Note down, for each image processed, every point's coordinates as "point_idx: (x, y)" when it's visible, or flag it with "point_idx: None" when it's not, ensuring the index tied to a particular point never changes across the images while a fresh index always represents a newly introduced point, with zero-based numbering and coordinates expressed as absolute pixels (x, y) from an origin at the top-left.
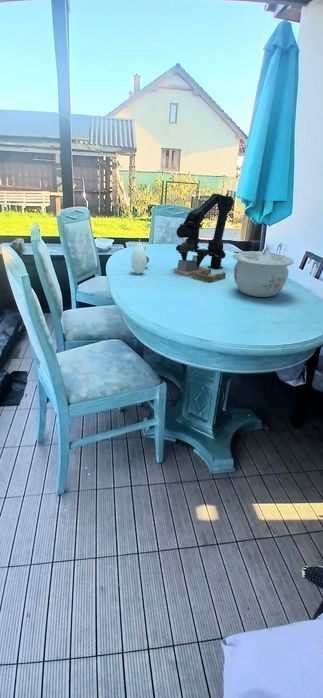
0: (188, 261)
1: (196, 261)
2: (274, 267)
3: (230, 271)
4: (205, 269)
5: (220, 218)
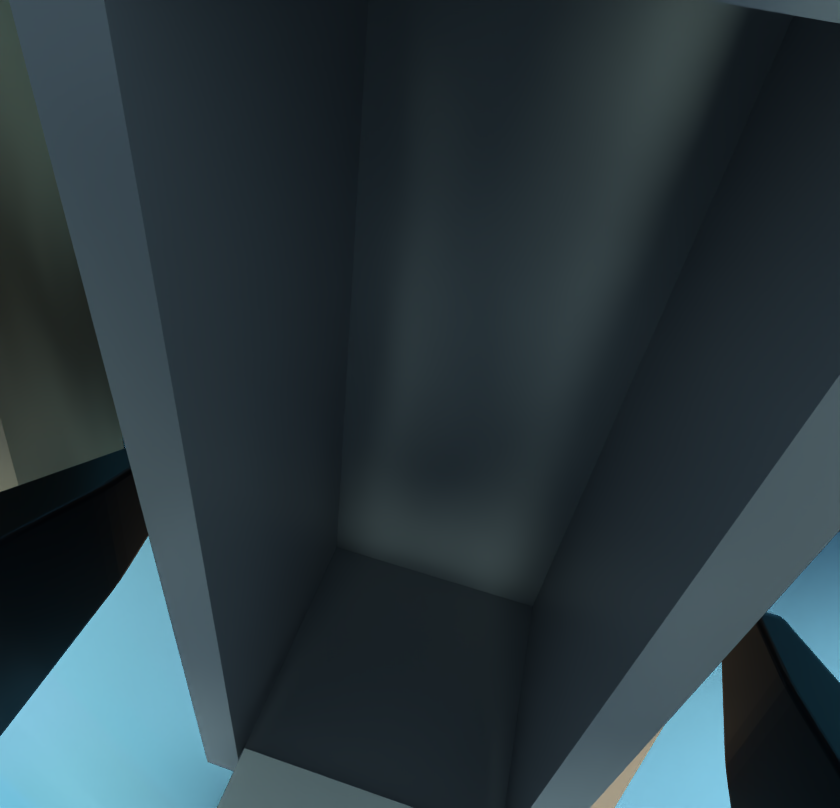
0: (565, 715)
1: (296, 772)
2: None
3: (76, 770)
4: (2, 477)
5: None
